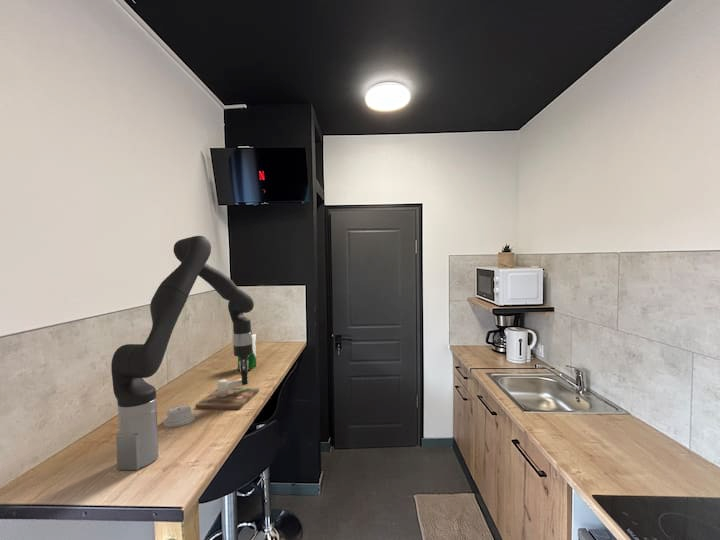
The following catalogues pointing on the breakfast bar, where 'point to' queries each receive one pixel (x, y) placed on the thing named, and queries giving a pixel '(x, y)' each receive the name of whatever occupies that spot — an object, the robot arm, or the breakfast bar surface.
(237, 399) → the board
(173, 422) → the mechanical component
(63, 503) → the breakfast bar surface
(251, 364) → the milk carton
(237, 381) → the peg
